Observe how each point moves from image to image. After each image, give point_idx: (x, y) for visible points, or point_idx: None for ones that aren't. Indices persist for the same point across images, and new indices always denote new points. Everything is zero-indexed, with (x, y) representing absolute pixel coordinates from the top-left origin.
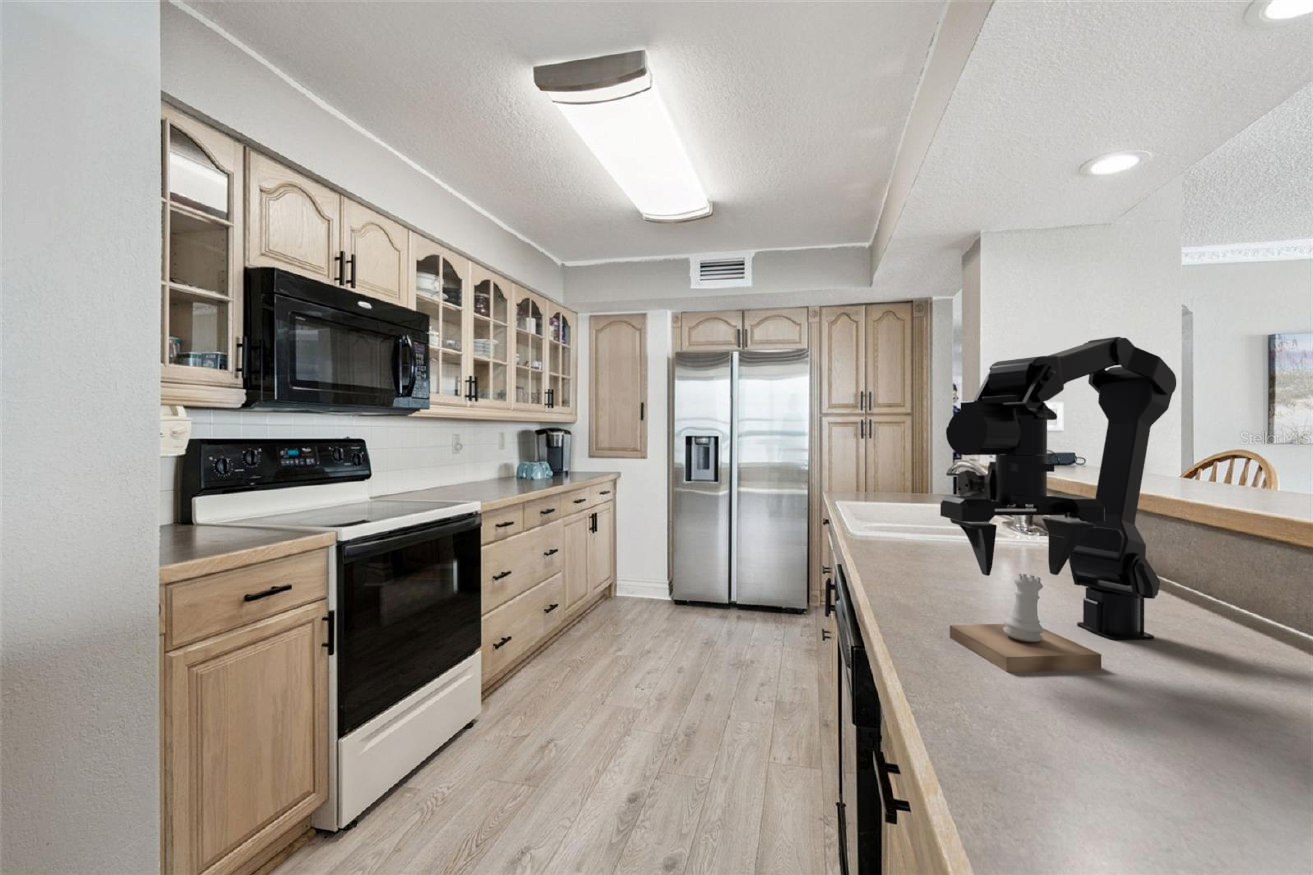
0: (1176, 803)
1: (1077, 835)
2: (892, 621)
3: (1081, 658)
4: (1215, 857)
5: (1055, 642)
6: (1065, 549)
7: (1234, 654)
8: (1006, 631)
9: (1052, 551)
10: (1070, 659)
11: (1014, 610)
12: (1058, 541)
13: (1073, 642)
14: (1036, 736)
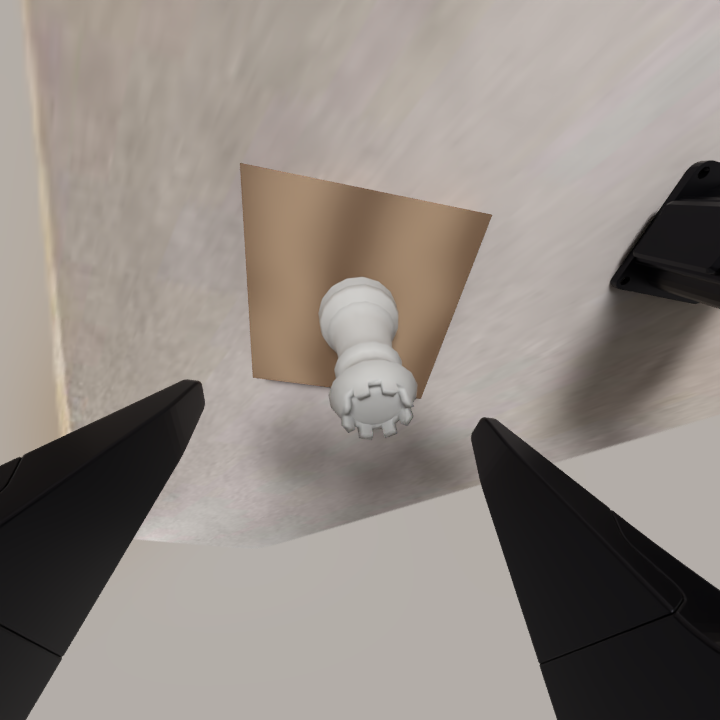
0: (237, 525)
1: (153, 531)
2: None
3: None
4: (218, 544)
5: (403, 342)
6: (512, 578)
7: (684, 381)
8: (320, 309)
9: (536, 509)
10: None
11: (336, 336)
12: (564, 600)
13: (437, 349)
14: (193, 472)
